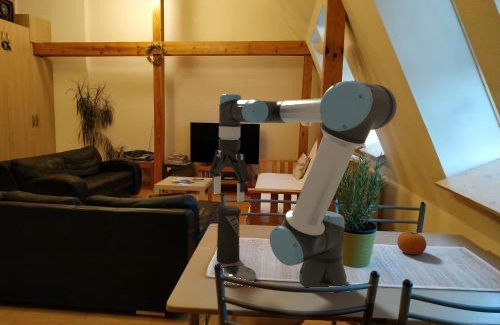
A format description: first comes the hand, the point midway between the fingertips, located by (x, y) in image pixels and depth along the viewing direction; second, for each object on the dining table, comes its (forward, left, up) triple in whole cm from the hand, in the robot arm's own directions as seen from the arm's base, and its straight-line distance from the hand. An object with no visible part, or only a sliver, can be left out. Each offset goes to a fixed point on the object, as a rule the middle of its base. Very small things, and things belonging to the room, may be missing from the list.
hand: (228, 197), depth 126 cm
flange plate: (-13, +7, -23) cm, 28 cm away
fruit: (-41, -61, -24) cm, 77 cm away
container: (0, 0, -24) cm, 24 cm away
